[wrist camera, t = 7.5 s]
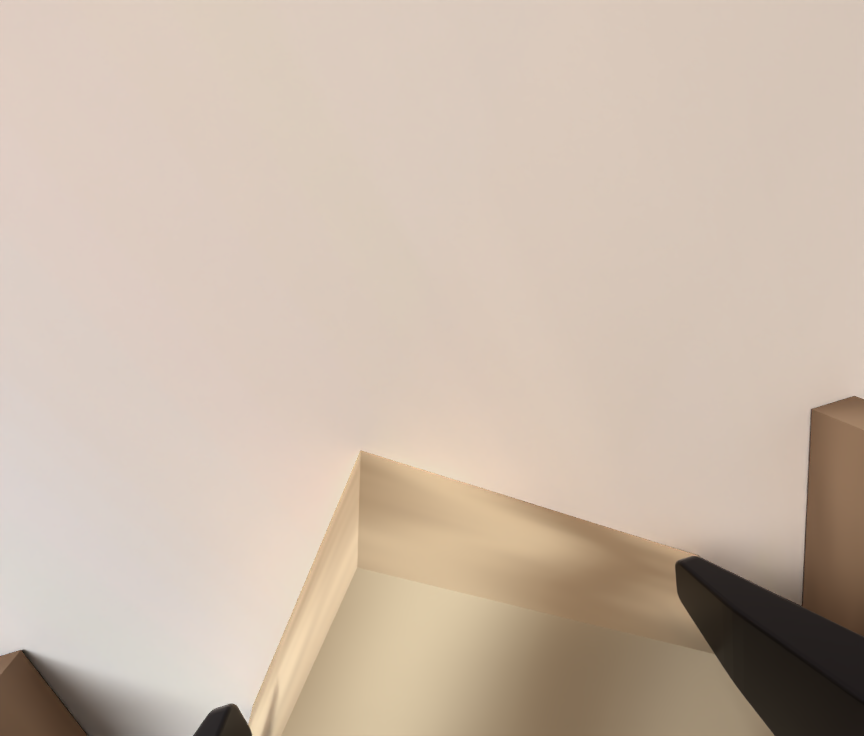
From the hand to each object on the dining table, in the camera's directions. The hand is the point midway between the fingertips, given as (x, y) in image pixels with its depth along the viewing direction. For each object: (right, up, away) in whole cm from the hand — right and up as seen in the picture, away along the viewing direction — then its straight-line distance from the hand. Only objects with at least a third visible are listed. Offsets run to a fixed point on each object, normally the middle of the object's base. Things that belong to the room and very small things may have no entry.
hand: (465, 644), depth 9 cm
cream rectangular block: (+1, -2, +4) cm, 4 cm away
